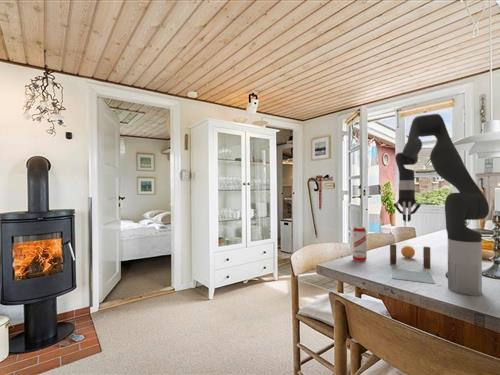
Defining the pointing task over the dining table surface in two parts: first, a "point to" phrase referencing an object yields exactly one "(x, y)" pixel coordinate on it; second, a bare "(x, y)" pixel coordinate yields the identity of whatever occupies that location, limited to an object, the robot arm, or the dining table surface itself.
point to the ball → (408, 251)
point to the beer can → (359, 244)
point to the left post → (393, 254)
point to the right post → (426, 257)
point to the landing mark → (412, 276)
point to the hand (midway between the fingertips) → (406, 221)
